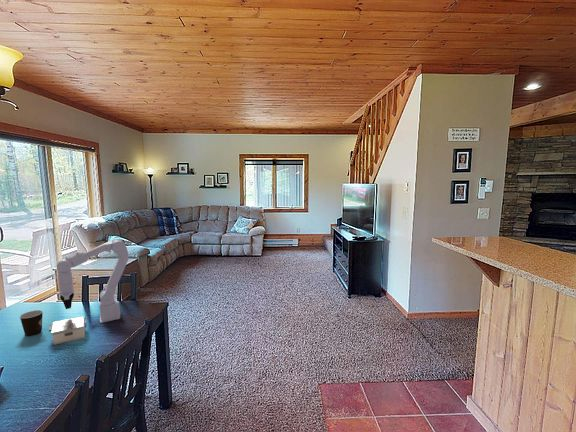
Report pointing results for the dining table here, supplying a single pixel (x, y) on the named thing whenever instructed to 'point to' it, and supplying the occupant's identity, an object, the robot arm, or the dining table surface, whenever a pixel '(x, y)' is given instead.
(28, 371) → the dining table surface
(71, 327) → the lid
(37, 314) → the coffee mug
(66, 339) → the white box
